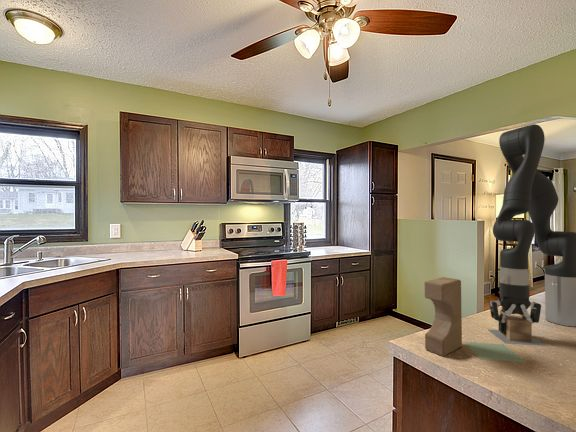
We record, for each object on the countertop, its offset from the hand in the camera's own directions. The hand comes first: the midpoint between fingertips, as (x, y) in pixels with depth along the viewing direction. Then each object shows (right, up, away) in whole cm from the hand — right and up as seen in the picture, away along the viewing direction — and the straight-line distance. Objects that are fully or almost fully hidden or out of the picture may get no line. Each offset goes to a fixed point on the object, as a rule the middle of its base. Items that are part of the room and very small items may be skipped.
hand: (514, 334), depth 91 cm
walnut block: (0, -1, 0) cm, 1 cm away
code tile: (0, -1, 0) cm, 1 cm away
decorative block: (-27, -1, -7) cm, 28 cm away
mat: (-14, -1, -10) cm, 17 cm away
